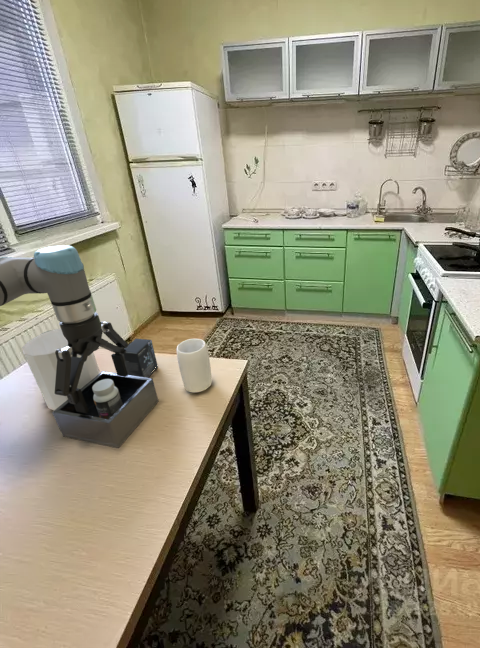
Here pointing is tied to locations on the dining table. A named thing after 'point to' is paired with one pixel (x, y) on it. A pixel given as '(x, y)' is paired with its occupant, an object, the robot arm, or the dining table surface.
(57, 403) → the container
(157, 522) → the dining table surface
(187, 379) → the cup
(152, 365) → the box
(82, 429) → the bin
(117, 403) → the pill bottle
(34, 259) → the robot arm
